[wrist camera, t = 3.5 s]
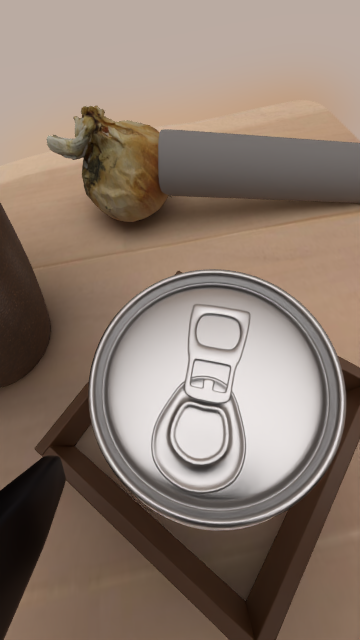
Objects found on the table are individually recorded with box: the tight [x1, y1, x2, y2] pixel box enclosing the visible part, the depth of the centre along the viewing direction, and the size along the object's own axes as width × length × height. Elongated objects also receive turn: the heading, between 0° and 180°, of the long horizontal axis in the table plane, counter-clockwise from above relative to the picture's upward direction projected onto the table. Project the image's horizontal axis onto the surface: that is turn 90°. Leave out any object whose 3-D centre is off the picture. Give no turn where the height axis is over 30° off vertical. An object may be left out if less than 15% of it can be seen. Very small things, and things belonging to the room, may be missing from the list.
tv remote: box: [158, 130, 360, 203], centre depth 20 cm, size 4×20×2 cm
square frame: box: [35, 271, 360, 640], centre depth 16 cm, size 13×13×3 cm
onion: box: [47, 106, 171, 222], centre depth 21 cm, size 8×8×8 cm
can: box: [88, 269, 346, 531], centre depth 11 cm, size 6×6×12 cm
